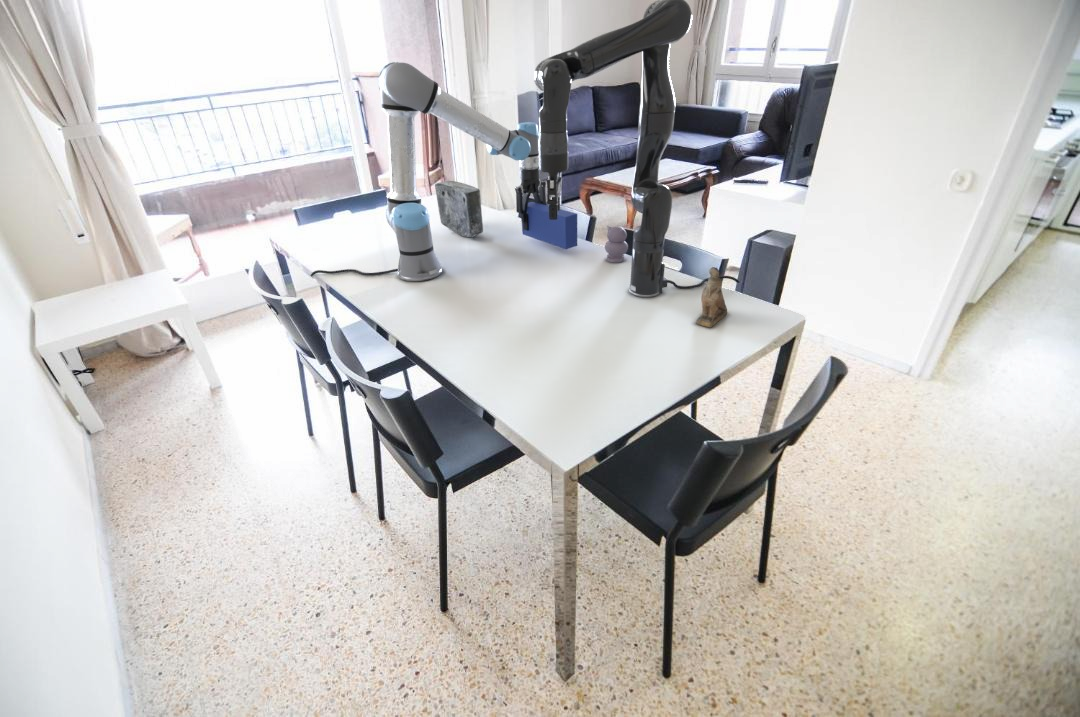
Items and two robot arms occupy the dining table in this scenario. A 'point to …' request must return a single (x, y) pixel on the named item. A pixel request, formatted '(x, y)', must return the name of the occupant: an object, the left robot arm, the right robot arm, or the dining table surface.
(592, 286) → the dining table surface
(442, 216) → the concrete block
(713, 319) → the brown carved statuette
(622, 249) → the cat figurine
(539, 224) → the box
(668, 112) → the right robot arm
